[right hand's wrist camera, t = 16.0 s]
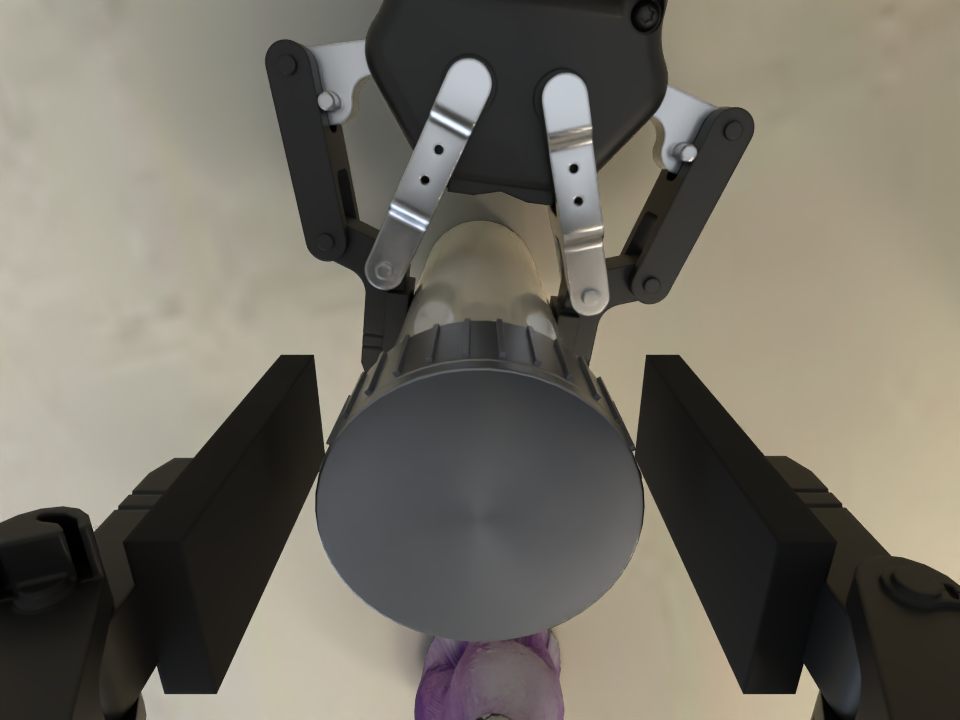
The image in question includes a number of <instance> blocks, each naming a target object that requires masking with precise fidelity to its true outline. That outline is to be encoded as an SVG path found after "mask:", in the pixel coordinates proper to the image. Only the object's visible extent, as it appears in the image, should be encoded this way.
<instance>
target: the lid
mask: <svg viewBox="0 0 960 720" xmlns="http://www.w3.org/2000/svg"><path fill="white" fill-rule="evenodd" d="M326 444H329V447H328V449H327V452H326V454H325V456H324V458H323V460H322V462H321V465H320V467H319V472H320V473H319V477H318V482H317V488H316V501H315V512H316V519H317V526H318V531H319V534H320V538H321V541H322V544H323V547H324V549H325V551H326V554H327V556H328V558H329V560H330V562H331V564H332V565H333V567H334V568H335V570H336V571H337V573H338V574H339V576H340V577H341V579H342V580H343V581H344V582H345V583H346V584H347V586H348V587H349V588H350V589H351V590H352V591H353V592H354V593H355V594H356V595H357V596H358V597H359V598H360V599H362V600H363V601H364V602H365V603H366V604H367V605H369V606H370V607H372V608H373V609H374V610H376V611H377V612H379V613H380V614H382V615H383V616H385V617H387V618H389V619H391V620H393V621H394V622H396V623H398V624H400V625H403V626H405V627H408V628H410V629H413V630H415V631H418V632H422V633H425V634H428V635H432V636H436V637H441V638H446V639H452V640H461V641H499V640H508V639H514V638H519V637H524V636H528V635H532V634H535V633H538V632H541V631H544V630H547V629H550V628H552V627H554V626H557V625H559V624H561V623H564V622H566V621H567V620H569V619H571V618H573V617H574V616H576V615H578V614H580V613H581V612H583V611H584V610H585V609H587V608H588V607H589V606H591V605H592V604H594V603H595V602H596V601H597V600H598V599H599V598H601V597H602V596H603V595H604V594H605V593H606V592H607V591H608V590H609V589H610V588H611V587H612V585H613V584H614V583H615V582H616V581H617V579H618V578H619V577H620V576H621V574H622V573H623V571H624V569H625V568H626V566H627V565H628V563H629V561H630V560H631V558H632V555H633V553H634V551H635V548H636V546H637V544H638V540H639V537H640V533H641V529H642V525H643V517H644V507H645V506H644V488H643V484H642V474H641V472H640V470H639V467H638V465H637V462H636V460H635V457H634V455H633V452H632V451H634V450H636V448H635V446H634V443H633V441H632V439H631V437H630V435H629V433H628V431H627V429H626V427H625V424H624V422H623V420H622V418H621V416H620V414H619V412H618V410H617V408H616V405H615V403H614V401H612V399H611V397H610V395H609V393H608V390H607V388H606V386H605V384H604V382H603V380H602V378H601V377H599V378H596V377H595V375H594V374H593V373H592V372H591V370H590V369H589V367H588V365H587V363H586V360H585V358H584V357H583V356H582V355H580V356H579V357H577V356H576V355H575V354H574V353H573V352H572V351H570V350H569V349H567V348H566V347H565V346H563V344H562V341H561V340H560V339H558V338H556V339H555V340H553V339H552V338H550V337H548V336H546V335H544V334H542V333H539V332H537V331H534V328H533V327H532V326H529V325H528V326H527V328H526V327H523V326H519V325H514V324H510V323H505V322H503V321H502V319H497V320H496V321H471V320H470V318H465V320H464V321H463V322H456V323H449V324H445V325H441V326H439V323H437V324H434V325H433V328H430V329H428V330H425V331H423V332H421V333H418V334H416V335H413V336H412V337H411V336H410V335H407V336H405V337H404V340H403V342H401V343H399V344H398V345H396V346H395V347H394V348H392V349H391V350H390V351H388V352H387V353H386V352H385V351H383V352H382V353H380V355H379V358H378V360H377V362H376V363H375V364H374V365H373V366H372V367H371V368H370V370H369V371H368V372H367V373H365V372H364V371H363V372H362V374H361V375H360V377H359V380H358V382H357V384H356V386H355V388H354V390H353V392H352V395H351V396H350V395H349V396H348V398H347V400H346V402H345V404H344V406H343V409H342V411H341V413H340V415H339V417H338V419H337V421H336V423H335V425H334V427H333V429H332V432H331V434H330V436H329V438H328V440H327V442H326Z"/></svg>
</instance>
